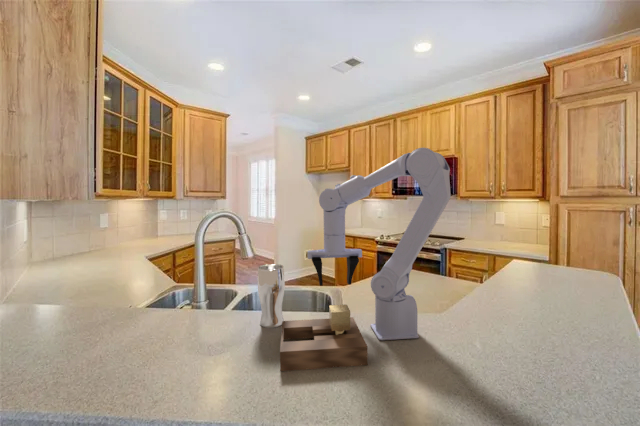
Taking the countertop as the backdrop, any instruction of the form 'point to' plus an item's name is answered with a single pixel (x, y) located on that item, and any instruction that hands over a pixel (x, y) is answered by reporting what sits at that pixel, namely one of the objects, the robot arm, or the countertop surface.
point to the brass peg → (339, 318)
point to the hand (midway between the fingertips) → (335, 284)
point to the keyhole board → (321, 346)
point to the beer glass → (271, 294)
